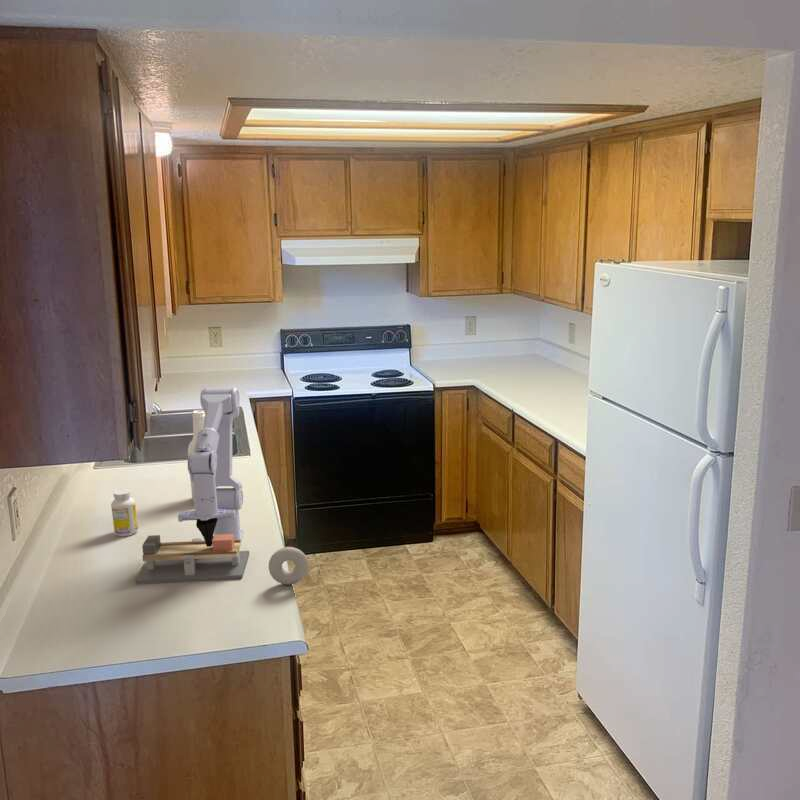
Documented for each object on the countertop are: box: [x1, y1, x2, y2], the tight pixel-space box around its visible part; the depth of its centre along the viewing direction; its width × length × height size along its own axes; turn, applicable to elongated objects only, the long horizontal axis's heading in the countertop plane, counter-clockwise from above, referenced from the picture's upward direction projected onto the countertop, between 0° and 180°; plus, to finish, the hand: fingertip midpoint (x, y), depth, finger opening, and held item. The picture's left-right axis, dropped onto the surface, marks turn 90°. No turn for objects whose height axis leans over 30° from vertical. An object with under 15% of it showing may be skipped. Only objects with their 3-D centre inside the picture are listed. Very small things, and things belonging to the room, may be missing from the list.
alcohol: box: [187, 409, 220, 502], centre depth 258 cm, size 9×9×30 cm
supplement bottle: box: [110, 488, 139, 537], centre depth 235 cm, size 7×7×13 cm
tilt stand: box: [134, 537, 250, 584], centre depth 211 cm, size 15×27×6 cm, turn 93°
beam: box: [141, 534, 242, 562], centre depth 210 cm, size 8×24×4 cm, turn 93°
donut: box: [268, 546, 310, 586], centre depth 200 cm, size 10×4×10 cm, turn 96°
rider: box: [212, 534, 234, 551], centre depth 210 cm, size 4×5×3 cm
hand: (209, 545), depth 210 cm, fingers closed
